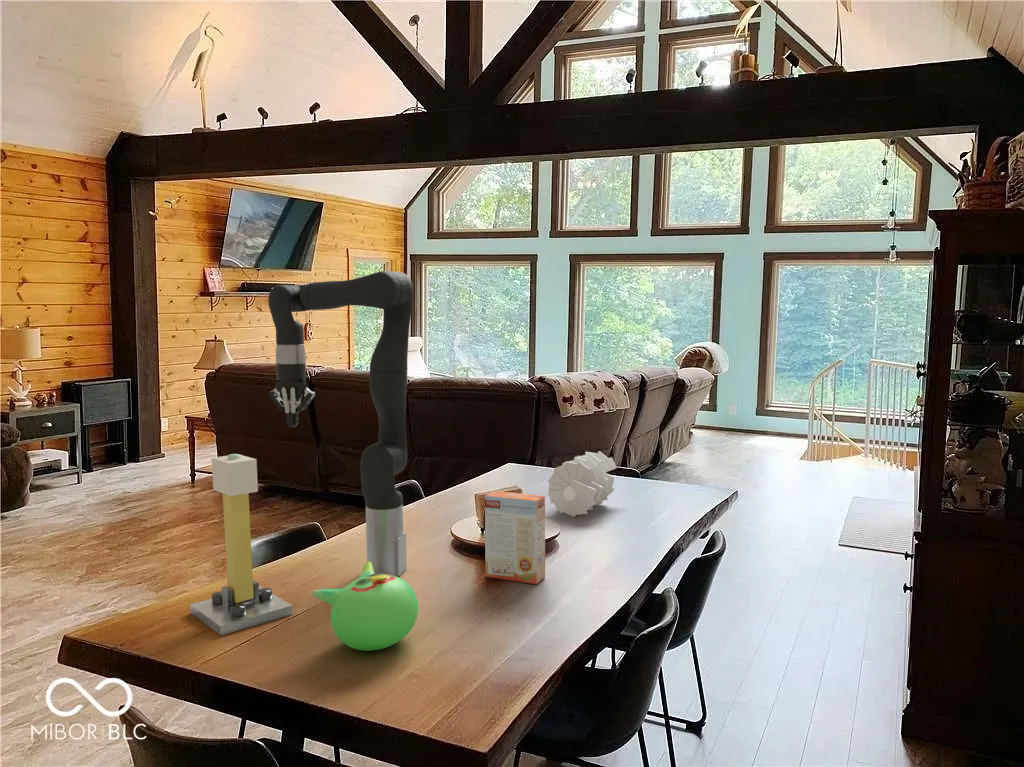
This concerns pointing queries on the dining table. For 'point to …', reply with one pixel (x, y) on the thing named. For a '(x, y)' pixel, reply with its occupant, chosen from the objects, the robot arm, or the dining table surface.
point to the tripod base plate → (240, 623)
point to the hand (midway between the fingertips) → (292, 426)
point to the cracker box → (515, 536)
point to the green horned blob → (371, 610)
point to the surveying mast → (237, 519)
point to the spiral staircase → (581, 483)
